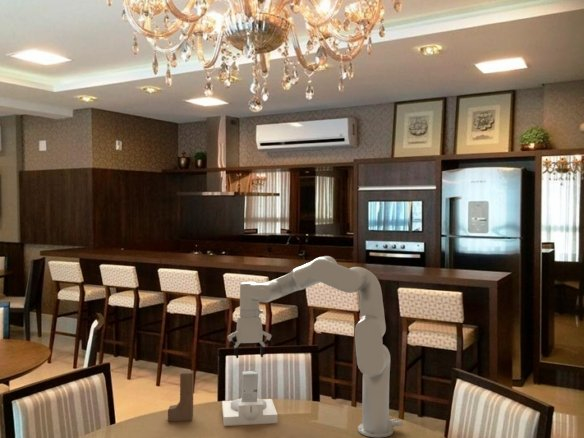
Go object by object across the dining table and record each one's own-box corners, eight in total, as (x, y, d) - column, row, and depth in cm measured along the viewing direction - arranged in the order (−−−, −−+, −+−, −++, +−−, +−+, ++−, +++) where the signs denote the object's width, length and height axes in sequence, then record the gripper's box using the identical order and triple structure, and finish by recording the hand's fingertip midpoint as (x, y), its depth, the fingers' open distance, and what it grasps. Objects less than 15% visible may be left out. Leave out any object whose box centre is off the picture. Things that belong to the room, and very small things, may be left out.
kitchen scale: (271, 406, 221) (271, 388, 221) (277, 423, 203) (277, 403, 203) (222, 409, 218) (222, 390, 218) (223, 426, 199) (223, 405, 199)
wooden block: (167, 421, 204) (168, 373, 204) (169, 417, 208) (170, 370, 208) (191, 421, 204) (192, 373, 204) (193, 417, 209) (193, 370, 209)
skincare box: (241, 405, 210) (242, 374, 210) (241, 401, 214) (241, 371, 214) (257, 404, 211) (258, 373, 211) (256, 401, 215) (256, 370, 215)
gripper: (270, 311, 218) (270, 353, 218) (227, 312, 215) (226, 355, 215) (272, 314, 210) (272, 358, 210) (227, 315, 208) (227, 360, 207)
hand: (249, 356), depth 213 cm, fingers open, 9 cm apart
